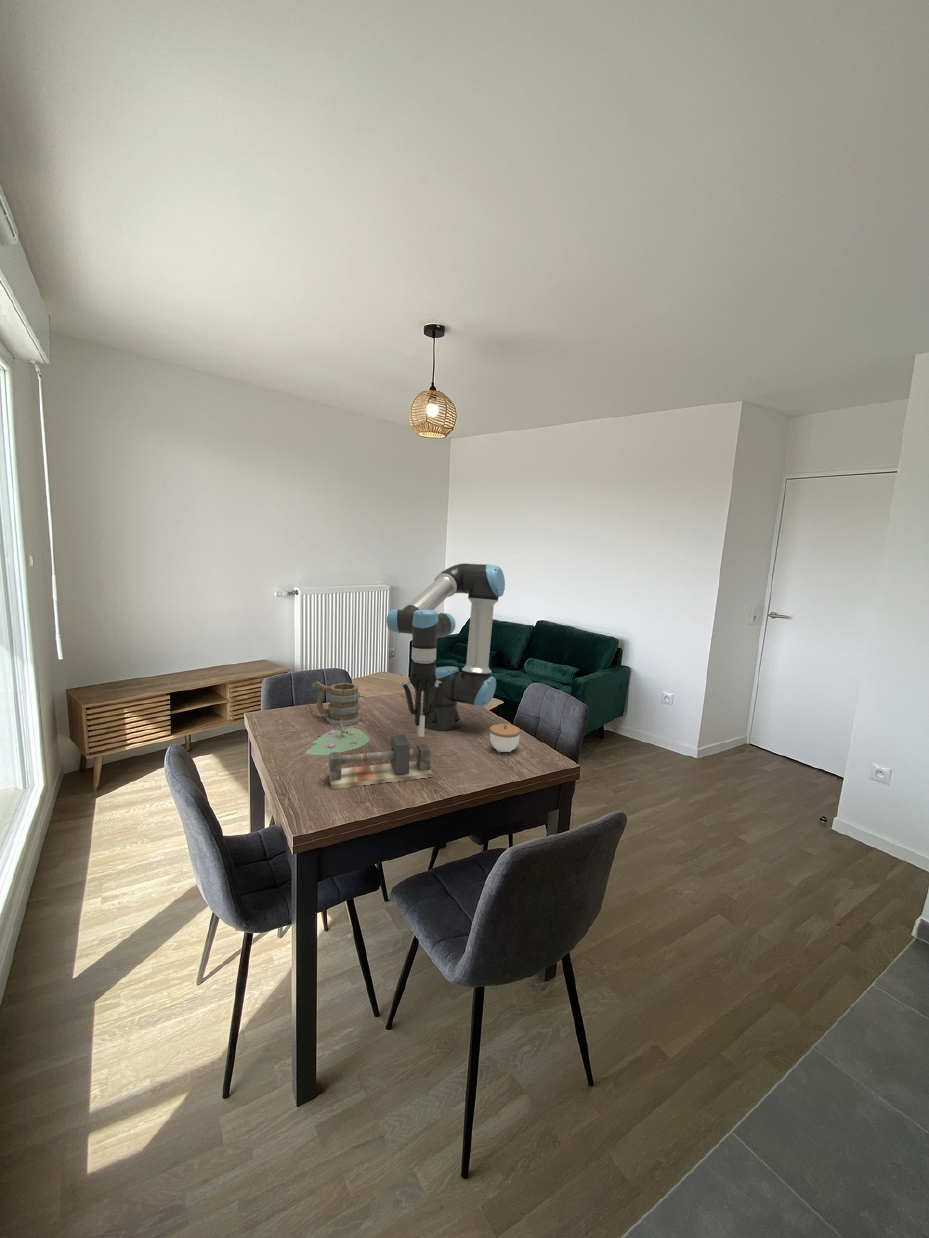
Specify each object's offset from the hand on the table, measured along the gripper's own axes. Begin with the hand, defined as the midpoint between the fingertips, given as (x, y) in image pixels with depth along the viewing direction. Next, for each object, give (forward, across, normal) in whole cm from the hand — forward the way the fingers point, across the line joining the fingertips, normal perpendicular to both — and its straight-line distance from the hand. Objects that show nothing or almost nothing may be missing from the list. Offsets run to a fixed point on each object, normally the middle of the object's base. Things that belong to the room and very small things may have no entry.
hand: (420, 734), depth 157 cm
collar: (+10, +6, 0) cm, 12 cm away
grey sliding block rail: (+12, +12, 0) cm, 17 cm away
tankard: (+12, +20, -55) cm, 60 cm away
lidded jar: (+12, -34, -10) cm, 37 cm away
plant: (+13, +22, -30) cm, 40 cm away
